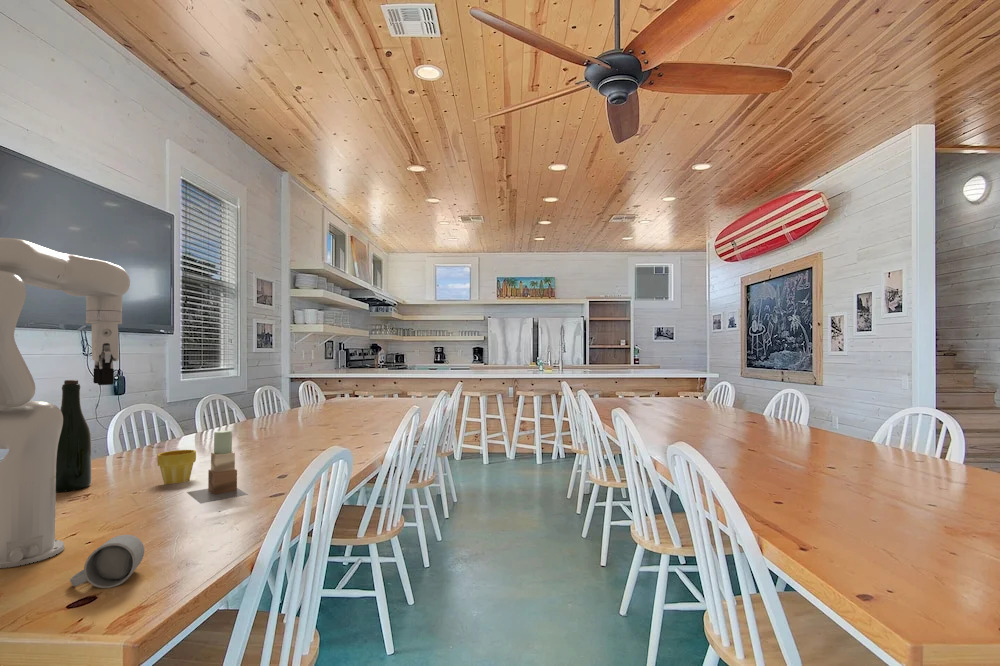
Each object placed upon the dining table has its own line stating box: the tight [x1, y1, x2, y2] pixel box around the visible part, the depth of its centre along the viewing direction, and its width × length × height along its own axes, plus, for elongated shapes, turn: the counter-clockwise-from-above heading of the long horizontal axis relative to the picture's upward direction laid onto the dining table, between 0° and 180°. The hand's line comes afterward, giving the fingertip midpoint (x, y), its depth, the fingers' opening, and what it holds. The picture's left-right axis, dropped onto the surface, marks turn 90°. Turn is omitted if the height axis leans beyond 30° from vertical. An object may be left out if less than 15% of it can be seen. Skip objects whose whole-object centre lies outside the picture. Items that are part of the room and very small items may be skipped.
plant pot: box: [156, 449, 197, 486], centre depth 165 cm, size 10×10×10 cm
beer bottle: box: [56, 379, 92, 493], centre depth 161 cm, size 10×10×33 cm
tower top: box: [210, 450, 236, 473], centre depth 153 cm, size 5×5×5 cm
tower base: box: [207, 468, 238, 495], centre depth 153 cm, size 6×6×6 cm
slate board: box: [186, 487, 248, 504], centre depth 150 cm, size 15×12×1 cm
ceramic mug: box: [69, 534, 145, 589], centre depth 96 cm, size 11×8×8 cm
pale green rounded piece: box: [213, 430, 233, 454], centre depth 153 cm, size 5×5×6 cm
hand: (103, 383), depth 137 cm, fingers open, 9 cm apart
